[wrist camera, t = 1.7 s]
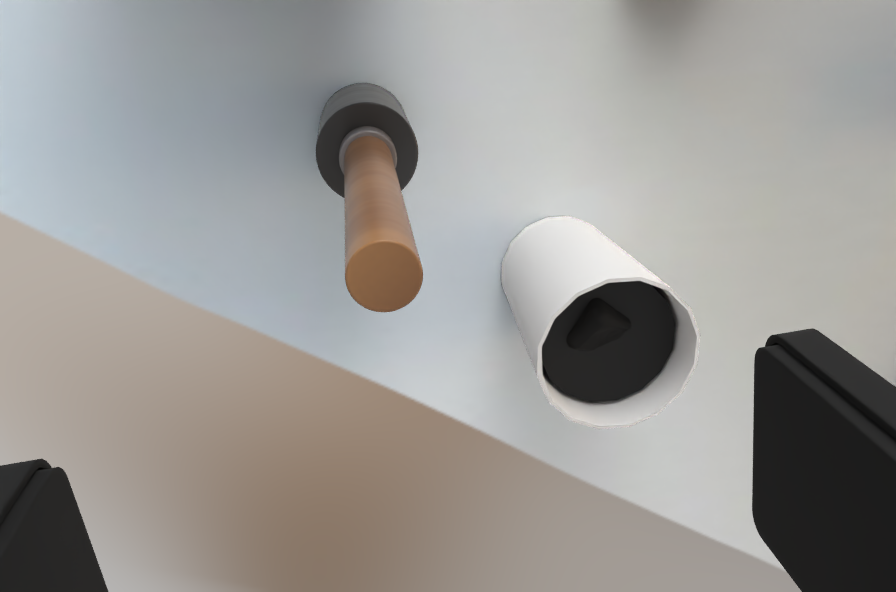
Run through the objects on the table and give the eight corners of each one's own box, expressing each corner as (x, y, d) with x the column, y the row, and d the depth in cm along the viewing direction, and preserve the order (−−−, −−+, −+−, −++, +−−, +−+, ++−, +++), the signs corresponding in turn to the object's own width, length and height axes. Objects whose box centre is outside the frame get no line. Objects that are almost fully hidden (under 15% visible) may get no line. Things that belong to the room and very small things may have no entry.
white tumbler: (466, 292, 41) (503, 384, 31) (541, 181, 39) (603, 245, 30) (570, 351, 43) (633, 454, 33) (645, 248, 41) (734, 327, 32)
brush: (302, 136, 37) (261, 296, 18) (353, 64, 36) (364, 157, 18) (373, 187, 38) (401, 384, 20) (424, 118, 37) (504, 258, 19)
